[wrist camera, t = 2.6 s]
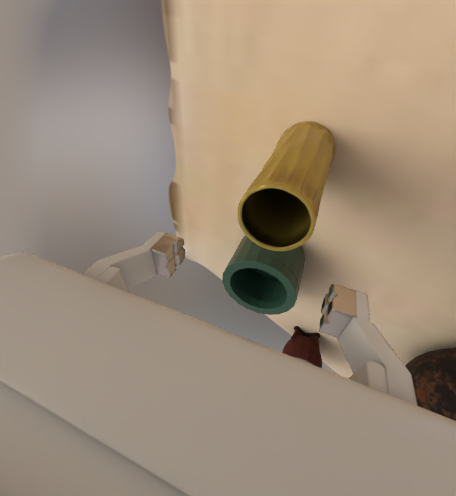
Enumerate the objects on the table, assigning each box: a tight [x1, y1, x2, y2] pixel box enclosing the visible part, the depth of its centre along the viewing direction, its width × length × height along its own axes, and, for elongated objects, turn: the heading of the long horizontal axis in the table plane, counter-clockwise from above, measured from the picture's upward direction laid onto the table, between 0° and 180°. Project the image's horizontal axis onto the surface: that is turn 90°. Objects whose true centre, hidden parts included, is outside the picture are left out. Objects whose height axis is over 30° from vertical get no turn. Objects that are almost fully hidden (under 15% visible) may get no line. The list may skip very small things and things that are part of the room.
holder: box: [223, 235, 305, 315], centre depth 34 cm, size 10×10×8 cm
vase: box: [238, 122, 335, 251], centre depth 20 cm, size 6×6×14 cm
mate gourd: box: [282, 326, 322, 368], centre depth 41 cm, size 8×8×15 cm
